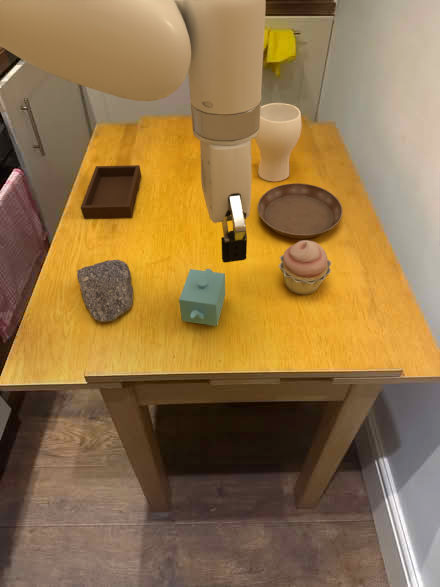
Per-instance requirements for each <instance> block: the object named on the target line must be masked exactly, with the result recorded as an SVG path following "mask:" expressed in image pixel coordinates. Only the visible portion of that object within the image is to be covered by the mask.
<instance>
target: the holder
mask: <svg viewBox="0 0 440 587" xmlns="http://www.w3.org/2000/svg"><path fill="white" fill-rule="evenodd" d="M141 171H142V170H141V167H140V164H135V165H134V164H133V165H96V166H95V167H94V170H93V173H92V175H91V178H90V181H89V183H88V186H87V190H86V192H85V194H84V196H83V200H82V203H81V205H80V211H81V214H82V216H83V219H84V220H102V219H103V220H104V219H105V220H107V219H133V215H134V211H135V206H136V202H137V197H138V194H139V189H140V185H141V181H142V172H141Z"/></svg>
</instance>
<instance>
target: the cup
mask: <svg viewBox="0 0 440 587" xmlns="http://www.w3.org/2000/svg"><path fill="white" fill-rule="evenodd" d="M301 114H302V113H301V110H300V109H299V108H298V107H297V106H295V105H293V104H289V103H285V102H273V103H272V102H271V103H267V104H263V105H261V108H260V127H259V133H258V135H257V136H256V137H255V138H254V140H255V143H256V145H257V147H258V150H259V155H260V161H259V165H258V168H257V174H258V176H259V177H260V178H261V179H263V180H265V181H268V182H281V181H285V180H286V179H287V178H288V177H290V174H291V173H290V171H291V170H290V158H291V154H292V152H293V150H294V148H295V147H296V146H297V143H298V142H299V139H300V136H301V134H302V126H303V124H302V115H301Z"/></svg>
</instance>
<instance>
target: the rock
mask: <svg viewBox="0 0 440 587" xmlns="http://www.w3.org/2000/svg"><path fill="white" fill-rule="evenodd" d="M76 277H77V281H78V285H79V287H80V292H81V297H82V301H83V302H84V306H85V308H86V309H87V310H88V311H89V313H90V315H91V317H92V318H93V319H94V320H95V321H97V322H102V323H108V322H113V321H115V320H117V319H118V318H119V316H121V315H123V314H125V313H126V312H127V311H129V310H130V309H131V307H132V306H133V301H134V300H133V298H134V297H133V296H134V288H133V286H132V276H131V269H130V266H129V265H128V263H126V262H125V261H123V260H120V259H110V260H109V259H108V260H105V261H101V262H98V263H94V264H93V265H91V264H90V265H87V266H83V267H82V268H79V269H77V270H76Z"/></svg>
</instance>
